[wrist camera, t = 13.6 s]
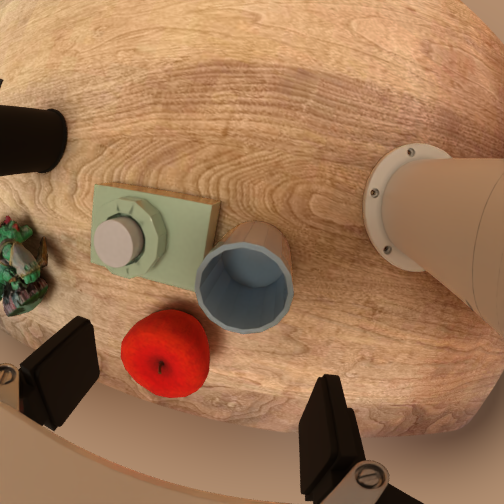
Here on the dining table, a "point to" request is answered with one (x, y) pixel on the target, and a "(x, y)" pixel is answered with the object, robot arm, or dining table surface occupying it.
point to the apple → (167, 353)
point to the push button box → (159, 230)
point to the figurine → (20, 269)
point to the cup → (247, 279)
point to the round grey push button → (118, 241)
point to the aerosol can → (30, 139)
